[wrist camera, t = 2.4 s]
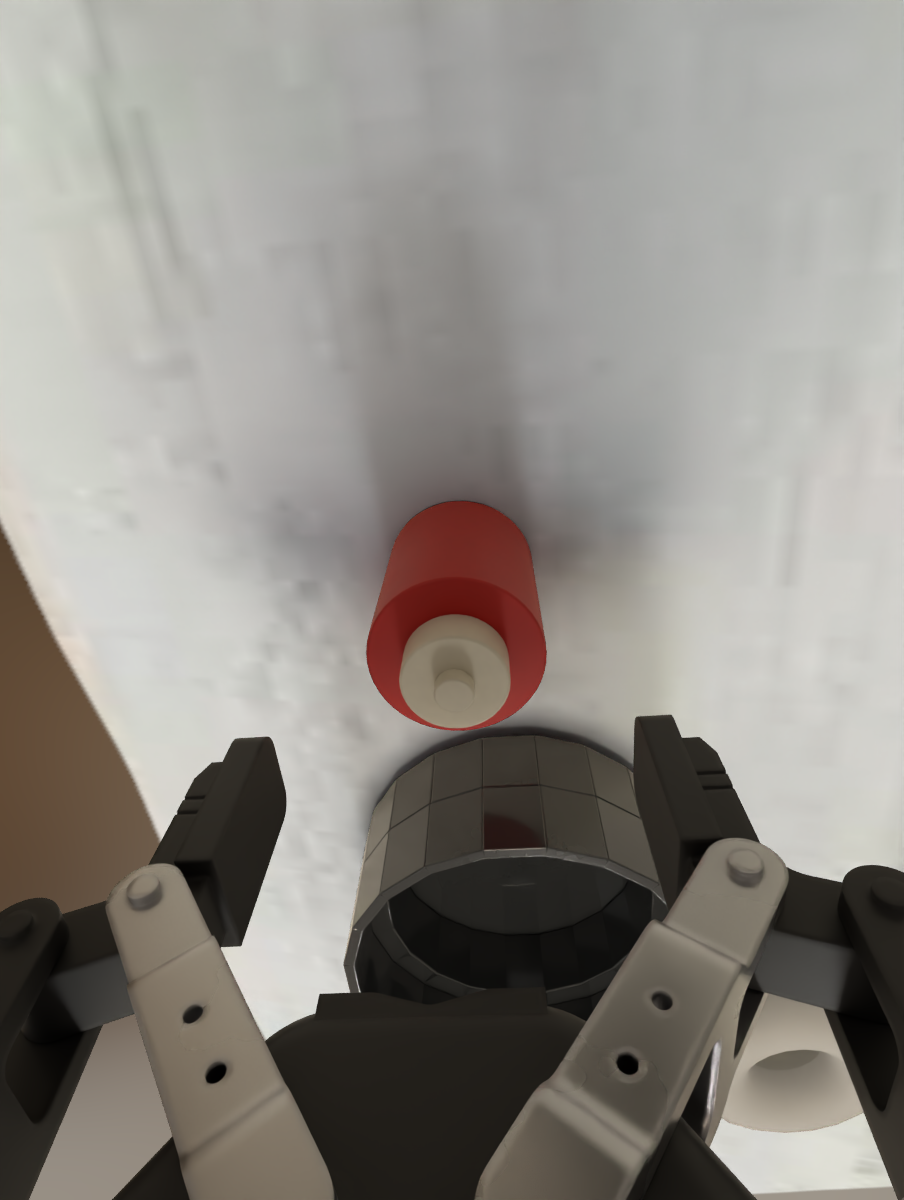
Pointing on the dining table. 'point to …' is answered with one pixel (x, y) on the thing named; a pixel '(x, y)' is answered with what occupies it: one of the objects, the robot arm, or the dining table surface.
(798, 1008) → the donut
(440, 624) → the ketchup bottle
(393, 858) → the grey round hollow bowl
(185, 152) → the dining table surface
